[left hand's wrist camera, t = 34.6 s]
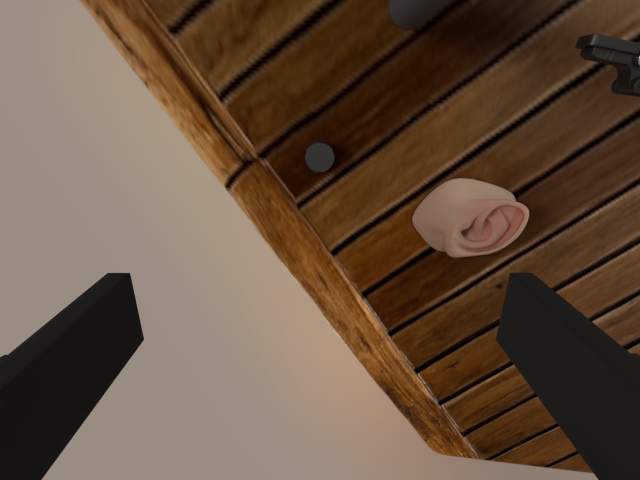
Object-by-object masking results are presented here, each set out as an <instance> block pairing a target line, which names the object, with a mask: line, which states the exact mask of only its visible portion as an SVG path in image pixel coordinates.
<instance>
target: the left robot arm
mask: <svg viewBox="0 0 640 480" xmlns="http://www.w3.org/2000/svg"><path fill="white" fill-rule="evenodd" d="M143 340H144V337H143V333H142V328H141V323H140V318H139V314H138V309H137V304H136V299H135V295H134V290H133V285H132V280H131V276H130V273H107V274H106V275H105V276H104V277H102V278H101V279H100V280H99V281H98V282H96V283H95V284H94V285H93V286H92V287H90V288H89V289H88V290H87V291H85V292H84V293H83V294H82V295H80V296H79V297H78V298H77V299H76V300H74V301H73V302H72V303H71V304H69V305H68V306H67V307H66V308H65V309H63V310H62V311H61V312H60V313H58V314H57V315H56V316H55V317H54V318H52V319H51V320H50V321H49V322H47V323H46V324H45V325H44V326H43V327H41V328H40V329H39V330H38V331H36V332H35V333H34V334H33V335H32V336H30V337H29V338H28V339H27V340H26V341H24V342H23V343H22V344H21V345H19V346H18V347H17V348H16V349H15V350H13V351H12V352H11V353H10V354H8V355H4V356H2V357H0V480H42V478H43V477H44V475H45V474H46V473H47V471H48V470H49V469H50V467H51V466H52V465H53V463H54V462H55V460H56V459H57V458H58V456H59V455H60V454H61V452H62V451H63V449H64V448H65V447H66V445H67V444H68V443H69V441H70V440H71V438H72V437H73V436H74V434H75V433H76V432H77V430H78V429H79V428H80V426H81V425H82V424H83V422H84V421H85V419H86V418H87V417H88V415H89V414H90V413H91V411H92V410H93V409H94V407H95V406H96V404H97V403H98V402H99V400H100V399H101V398H102V396H103V395H104V393H105V392H106V391H107V389H108V388H109V387H110V385H111V384H112V383H113V381H114V380H115V378H116V377H117V376H118V374H119V373H120V372H121V370H122V369H123V368H124V366H125V365H126V363H127V362H128V361H129V359H130V358H131V357H132V355H133V354H134V353H135V351H136V350H137V348H138V347H139V346H140V344H141V343H142V342H143ZM496 340H497V342H498V343H499V344H500V346H501V347H502V348H503V350H504V351H505V353H506V354H507V355H508V357H509V358H510V359H511V361H512V362H513V363H514V365H515V366H516V368H517V369H518V370H519V372H520V373H521V374H522V376H523V377H524V378H525V380H526V381H527V383H528V384H529V385H530V387H531V388H532V389H533V391H534V392H535V394H536V395H537V396H538V398H539V399H540V400H541V402H542V403H543V404H544V406H545V407H546V409H547V410H548V411H549V413H550V414H551V415H552V417H553V418H554V419H555V421H556V422H557V424H558V425H559V426H560V428H561V429H562V430H563V432H564V433H565V434H566V436H567V437H568V439H569V440H570V441H571V443H572V444H573V445H574V447H575V448H576V449H577V451H578V452H579V454H580V455H581V456H582V458H583V459H584V460H585V462H586V463H587V465H588V466H589V467H590V469H591V470H592V471H593V473H594V474H595V475H596V477H597V478H598V480H640V356H639V355H637V354H630V353H629V352H628V351H627V350H625V349H624V348H623V347H622V346H621V345H619V344H618V343H617V342H616V341H614V340H613V339H612V338H611V337H610V336H608V335H607V334H606V333H605V332H604V331H602V330H601V329H600V328H599V327H597V326H596V325H595V324H594V323H593V322H591V321H590V320H589V319H588V318H586V317H585V316H584V315H583V314H582V313H580V312H579V311H578V310H577V309H575V308H574V307H573V306H572V305H571V304H569V303H568V302H567V301H566V300H564V299H563V298H562V297H561V296H560V295H558V294H557V293H556V292H555V291H553V290H552V289H551V288H550V287H549V286H547V285H546V284H545V283H544V282H542V281H541V280H540V279H539V278H538V277H536V276H535V275H534V274H533V273H510V276H509V280H508V285H507V290H506V295H505V299H504V304H503V309H502V314H501V318H500V323H499V328H498V333H497V337H496Z"/></svg>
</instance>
